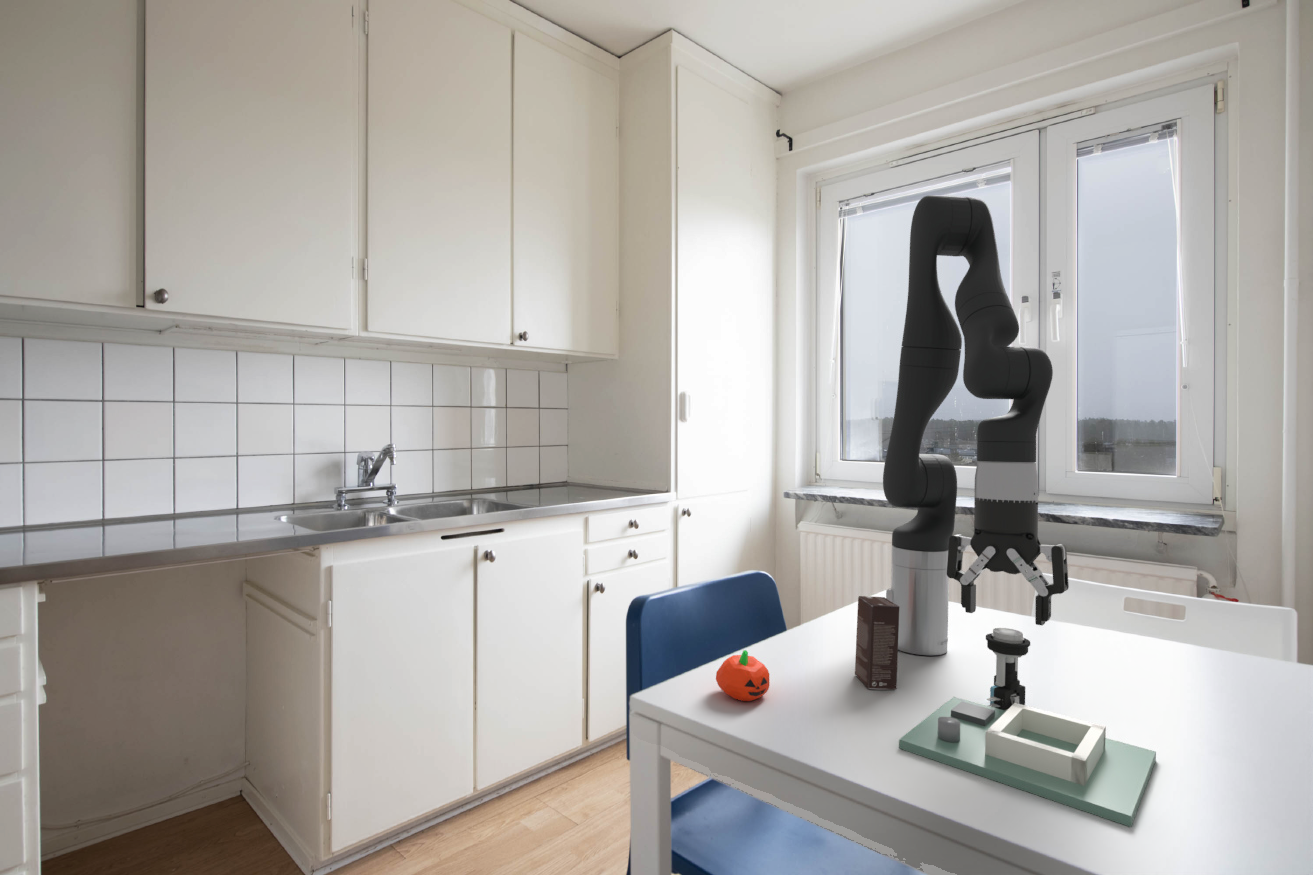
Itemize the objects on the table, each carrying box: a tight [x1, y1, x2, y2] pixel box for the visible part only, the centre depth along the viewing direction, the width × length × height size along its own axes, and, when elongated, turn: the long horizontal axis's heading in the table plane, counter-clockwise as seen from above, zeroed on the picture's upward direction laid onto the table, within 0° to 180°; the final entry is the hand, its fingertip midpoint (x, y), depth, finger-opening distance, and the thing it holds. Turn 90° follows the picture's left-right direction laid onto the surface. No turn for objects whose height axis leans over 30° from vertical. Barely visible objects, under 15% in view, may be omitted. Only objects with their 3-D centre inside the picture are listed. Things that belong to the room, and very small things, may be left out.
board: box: [898, 696, 1157, 828], centre depth 76 cm, size 22×18×4 cm
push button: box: [985, 627, 1031, 711], centre depth 90 cm, size 7×5×10 cm
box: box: [854, 595, 900, 691], centre depth 98 cm, size 6×4×12 cm
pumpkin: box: [715, 649, 770, 702], centre depth 92 cm, size 7×8×6 cm
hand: (1004, 617), depth 89 cm, fingers open, 8 cm apart
